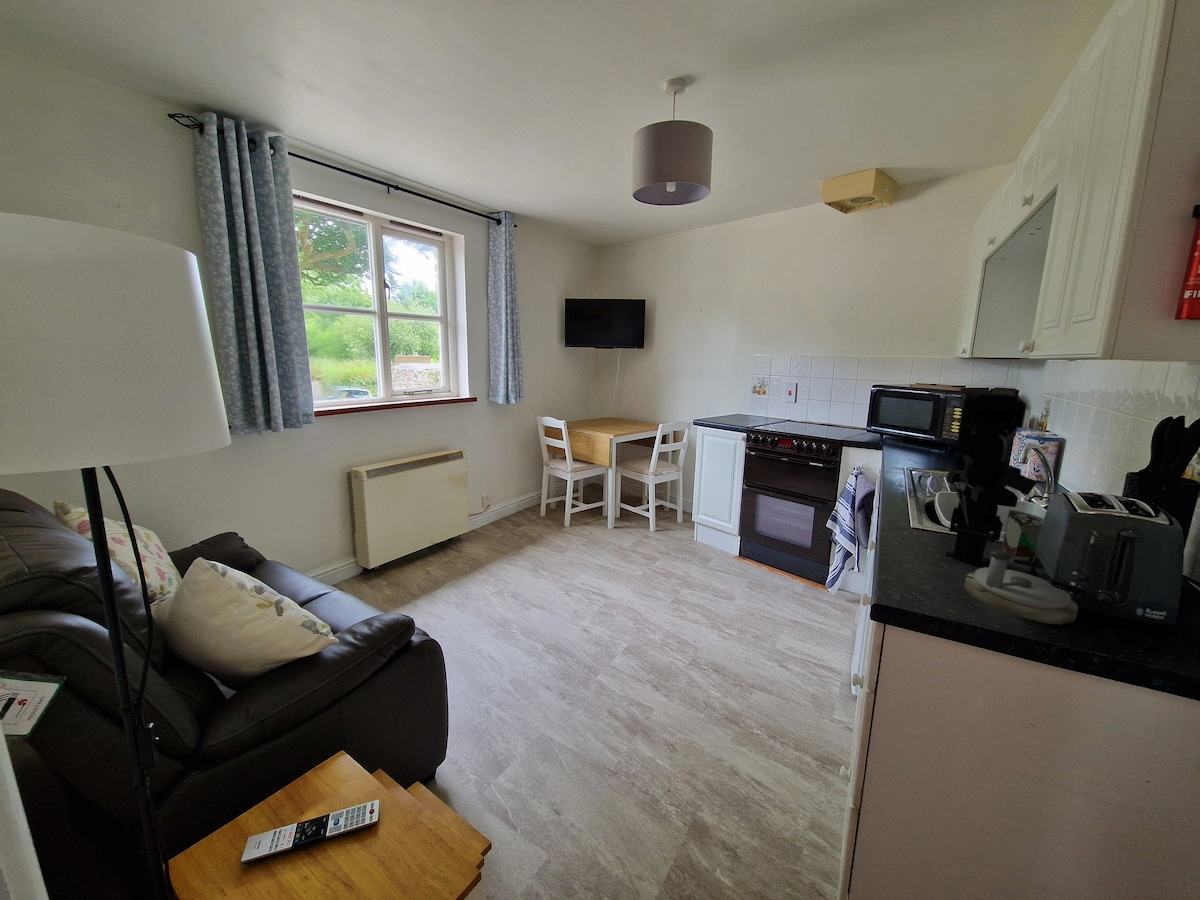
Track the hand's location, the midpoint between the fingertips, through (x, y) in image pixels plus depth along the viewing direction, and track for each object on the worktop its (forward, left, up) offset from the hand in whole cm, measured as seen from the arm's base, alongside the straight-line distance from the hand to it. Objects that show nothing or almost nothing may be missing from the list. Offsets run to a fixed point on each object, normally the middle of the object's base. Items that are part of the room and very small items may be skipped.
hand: (970, 525), depth 96 cm
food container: (-27, 0, -12) cm, 29 cm away
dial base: (0, +10, -12) cm, 16 cm away
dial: (0, +10, -10) cm, 14 cm away
